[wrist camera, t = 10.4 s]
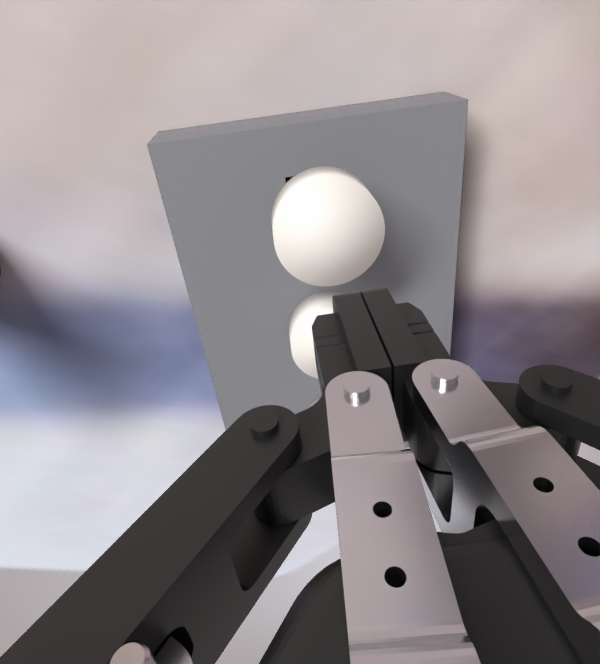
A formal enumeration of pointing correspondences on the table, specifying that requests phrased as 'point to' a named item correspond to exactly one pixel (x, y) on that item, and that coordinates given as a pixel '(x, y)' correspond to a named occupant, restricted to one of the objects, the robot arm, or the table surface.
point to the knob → (326, 226)
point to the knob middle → (308, 329)
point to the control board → (257, 236)
